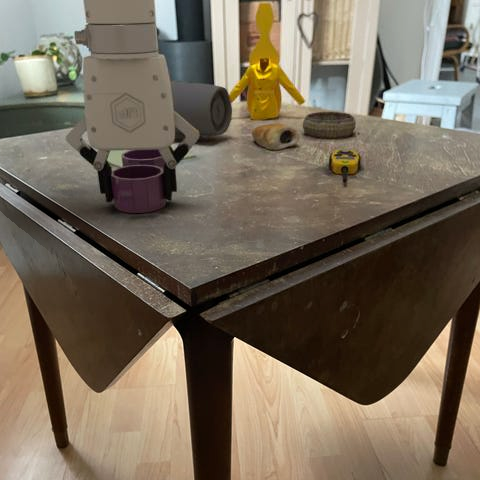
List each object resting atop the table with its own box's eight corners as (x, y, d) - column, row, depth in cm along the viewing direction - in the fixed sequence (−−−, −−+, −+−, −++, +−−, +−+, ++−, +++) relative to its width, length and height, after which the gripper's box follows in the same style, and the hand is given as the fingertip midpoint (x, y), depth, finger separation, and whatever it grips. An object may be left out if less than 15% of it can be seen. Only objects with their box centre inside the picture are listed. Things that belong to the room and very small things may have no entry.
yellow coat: (223, 121, 117) (219, 3, 105) (225, 114, 123) (221, 3, 112) (305, 120, 116) (310, 1, 105) (302, 113, 123) (307, 1, 112)
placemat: (130, 171, 84) (129, 169, 83) (89, 156, 92) (88, 154, 92) (196, 156, 91) (196, 154, 91) (152, 143, 99) (152, 142, 99)
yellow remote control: (360, 147, 87) (363, 173, 74) (359, 159, 88) (361, 187, 75) (330, 147, 87) (327, 172, 75) (329, 159, 88) (326, 186, 76)
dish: (132, 216, 66) (128, 182, 64) (105, 203, 70) (100, 171, 68) (176, 204, 69) (174, 172, 67) (147, 193, 74) (144, 162, 72)
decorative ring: (335, 141, 98) (365, 132, 105) (336, 123, 97) (366, 115, 103) (291, 134, 105) (322, 126, 111) (292, 116, 103) (323, 109, 109)
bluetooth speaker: (234, 137, 103) (233, 80, 98) (209, 147, 96) (207, 86, 91) (138, 127, 113) (132, 74, 107) (109, 136, 105) (102, 80, 100)
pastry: (242, 141, 100) (242, 120, 98) (272, 137, 103) (272, 116, 101) (272, 151, 93) (273, 128, 91) (303, 146, 96) (304, 124, 94)
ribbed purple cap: (141, 193, 74) (138, 162, 72) (116, 183, 78) (112, 153, 76) (180, 183, 78) (178, 153, 76) (154, 174, 82) (151, 146, 80)
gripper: (35, 45, 56) (65, 210, 66) (202, 43, 57) (208, 205, 67) (52, 40, 63) (76, 191, 72) (201, 39, 64) (207, 187, 73)
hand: (139, 197), depth 69 cm, fingers closed on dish, 6 cm apart
